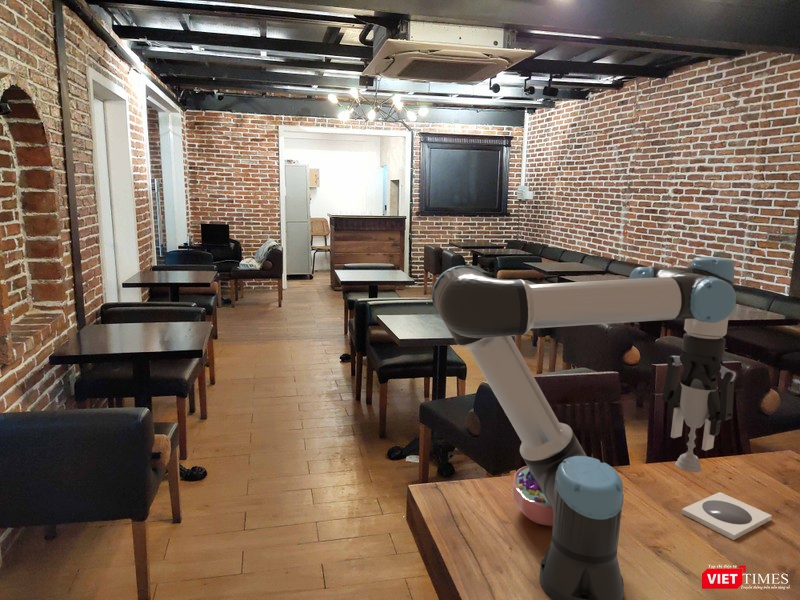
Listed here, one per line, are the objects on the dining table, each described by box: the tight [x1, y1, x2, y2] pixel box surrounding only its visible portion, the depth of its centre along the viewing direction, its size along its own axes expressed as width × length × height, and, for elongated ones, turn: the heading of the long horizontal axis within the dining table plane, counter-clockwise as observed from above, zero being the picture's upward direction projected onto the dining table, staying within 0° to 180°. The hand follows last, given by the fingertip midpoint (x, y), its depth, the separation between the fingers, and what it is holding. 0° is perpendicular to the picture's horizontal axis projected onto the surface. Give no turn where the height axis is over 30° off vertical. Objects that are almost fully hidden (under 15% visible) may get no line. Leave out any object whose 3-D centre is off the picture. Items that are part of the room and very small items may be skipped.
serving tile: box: [680, 491, 773, 541], centre depth 129 cm, size 16×12×1 cm
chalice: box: [674, 378, 719, 473], centre depth 114 cm, size 7×7×18 cm
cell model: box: [512, 465, 553, 528], centre depth 126 cm, size 17×20×11 cm
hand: (691, 442), depth 115 cm, fingers closed on chalice, 6 cm apart
